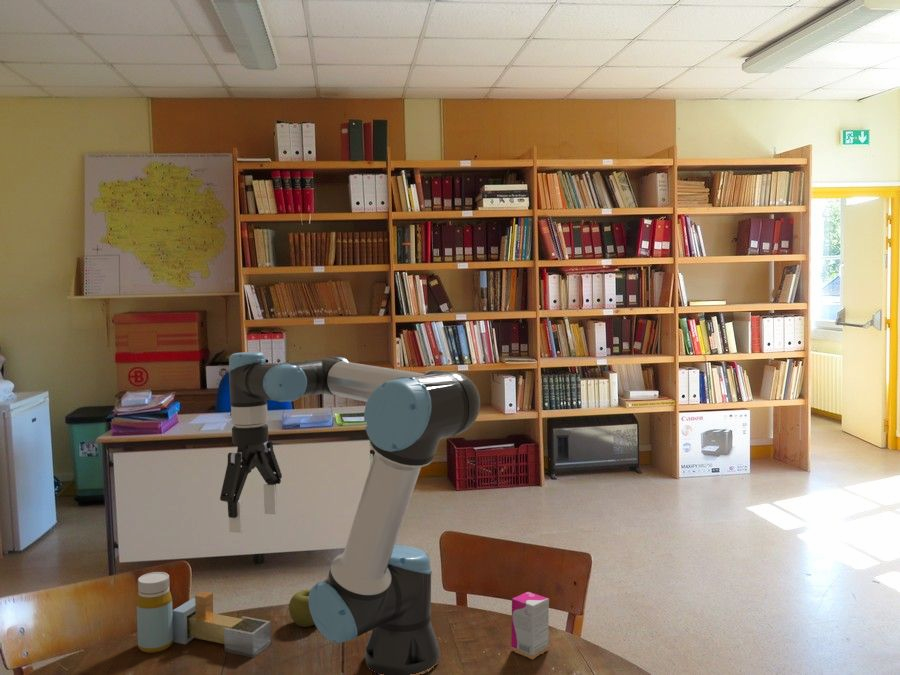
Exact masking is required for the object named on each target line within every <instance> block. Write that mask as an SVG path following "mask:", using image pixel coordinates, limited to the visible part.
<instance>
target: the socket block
mask: <svg viewBox="0 0 900 675" xmlns="http://www.w3.org/2000/svg"><path fill="white" fill-rule="evenodd" d="M172 611H173V643H175V644H176V643H177V644H181V645H186V644H188V643H189V642H191V641H192V640H194V639H195V638H193V637H188V636H187V616H188V615H190V614H191V613H193V612H195V597H193V598H191V599H189V600H188V601H186V602H184V603H182V604H181V605H180V606H178V607H176V608H174V609H172Z"/></svg>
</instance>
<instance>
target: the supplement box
mask: <svg viewBox="0 0 900 675" xmlns="http://www.w3.org/2000/svg"><path fill="white" fill-rule="evenodd" d="M549 605H550V598H548V597H545V596H542V595H539V594H537V593H533V592H531V591H526V592H523V593H522V594H519V595H517V596H515V597H512V598H511V631H510V632H511V634H510V635H511V638H510V641H511V642H510V647H511V646H512V647H514V648H516V649H518V650H520V651H522V652H525V653H526V654H530V655H535V654H537V653H538V652H539V651H541V650H543V649H544V648H545V647H547V646H548V647H549V617H550V616H549V613H550V611H549V610H550V608H549V607H550V606H549Z"/></svg>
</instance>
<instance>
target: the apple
mask: <svg viewBox="0 0 900 675" xmlns="http://www.w3.org/2000/svg"><path fill="white" fill-rule="evenodd" d="M310 590H311V589H303V590H300V591H298V592H296V593H294V594H293V595H292V597H291V598H290V601H289V603H288V611H289V615H290V618H291V619H292V621H293V622H294V623H295V625H297V626H299V627H304V628H306V627H307V628H308V627H311V626H314V625H315V623H314V621H313V619H312V616H311V613H310V609H309V593H310Z"/></svg>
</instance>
